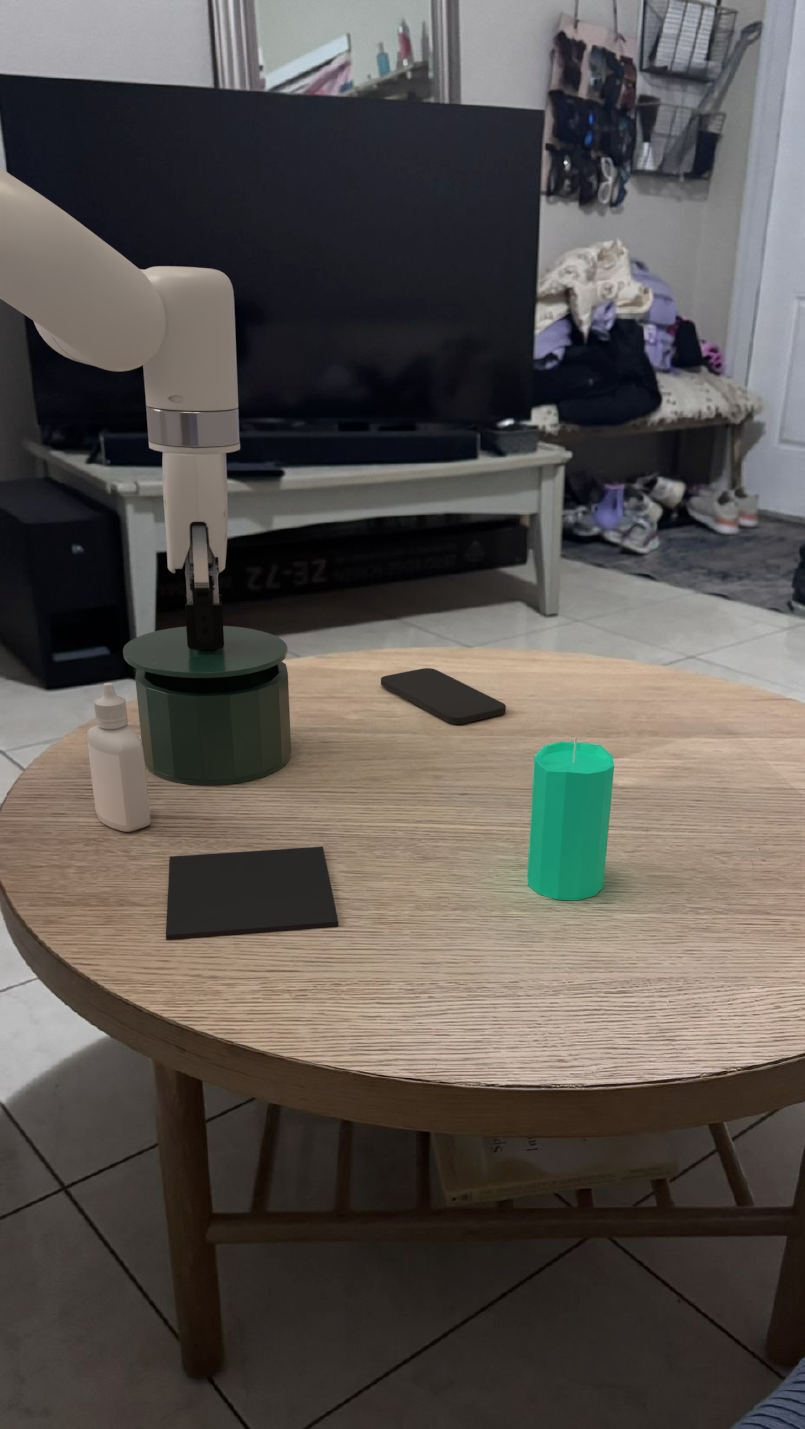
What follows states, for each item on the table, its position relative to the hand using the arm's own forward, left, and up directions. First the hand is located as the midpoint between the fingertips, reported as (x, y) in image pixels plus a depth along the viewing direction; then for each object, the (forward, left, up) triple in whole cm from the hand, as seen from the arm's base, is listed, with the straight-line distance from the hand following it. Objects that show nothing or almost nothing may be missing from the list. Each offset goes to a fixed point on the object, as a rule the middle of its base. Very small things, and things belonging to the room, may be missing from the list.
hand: (205, 641), depth 105 cm
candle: (+26, -29, -12) cm, 41 cm away
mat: (+2, -27, -11) cm, 29 cm away
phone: (+24, +13, -11) cm, 30 cm away
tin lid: (0, 0, -1) cm, 1 cm away
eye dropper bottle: (-8, -13, -12) cm, 19 cm away
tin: (0, 0, -11) cm, 11 cm away
